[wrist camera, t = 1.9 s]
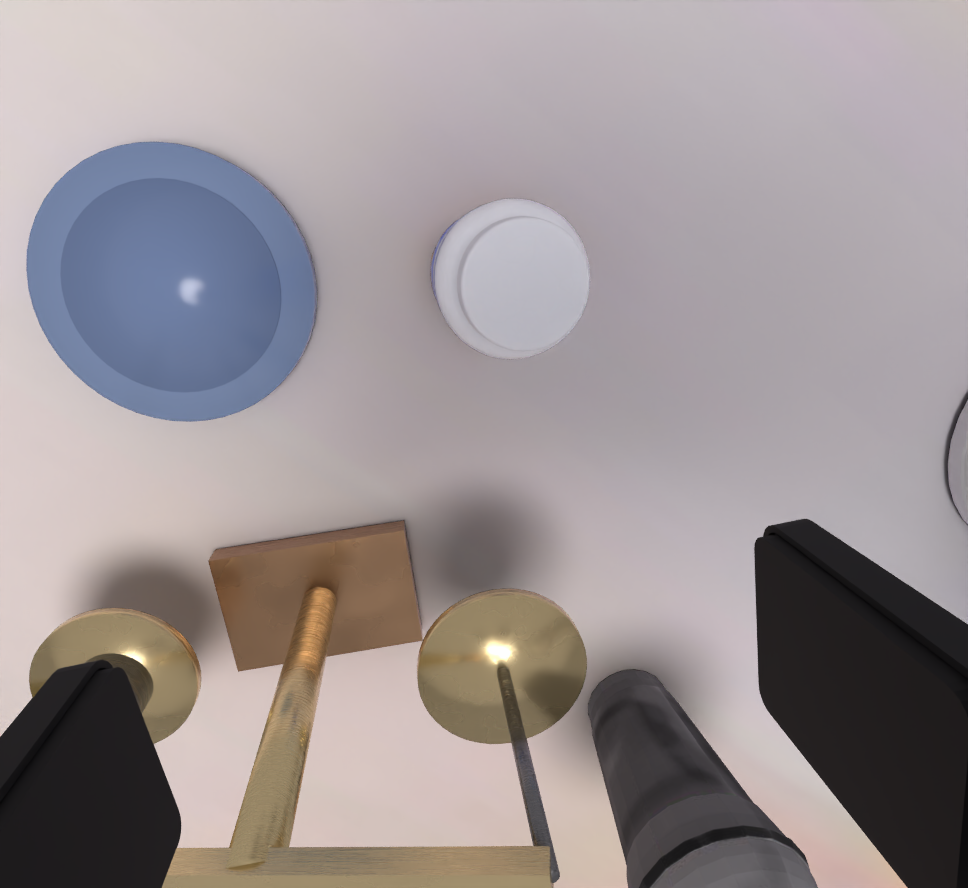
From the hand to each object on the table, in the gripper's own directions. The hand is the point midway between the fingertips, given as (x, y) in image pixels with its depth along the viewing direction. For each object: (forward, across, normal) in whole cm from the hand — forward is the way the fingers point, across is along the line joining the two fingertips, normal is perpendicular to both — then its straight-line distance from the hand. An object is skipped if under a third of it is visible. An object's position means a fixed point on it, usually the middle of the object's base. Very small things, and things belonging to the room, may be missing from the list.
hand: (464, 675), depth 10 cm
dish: (+21, +9, -6) cm, 24 cm away
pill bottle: (+22, -4, -4) cm, 22 cm away
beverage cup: (+22, -8, +20) cm, 30 cm away
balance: (+21, +7, +9) cm, 24 cm away
